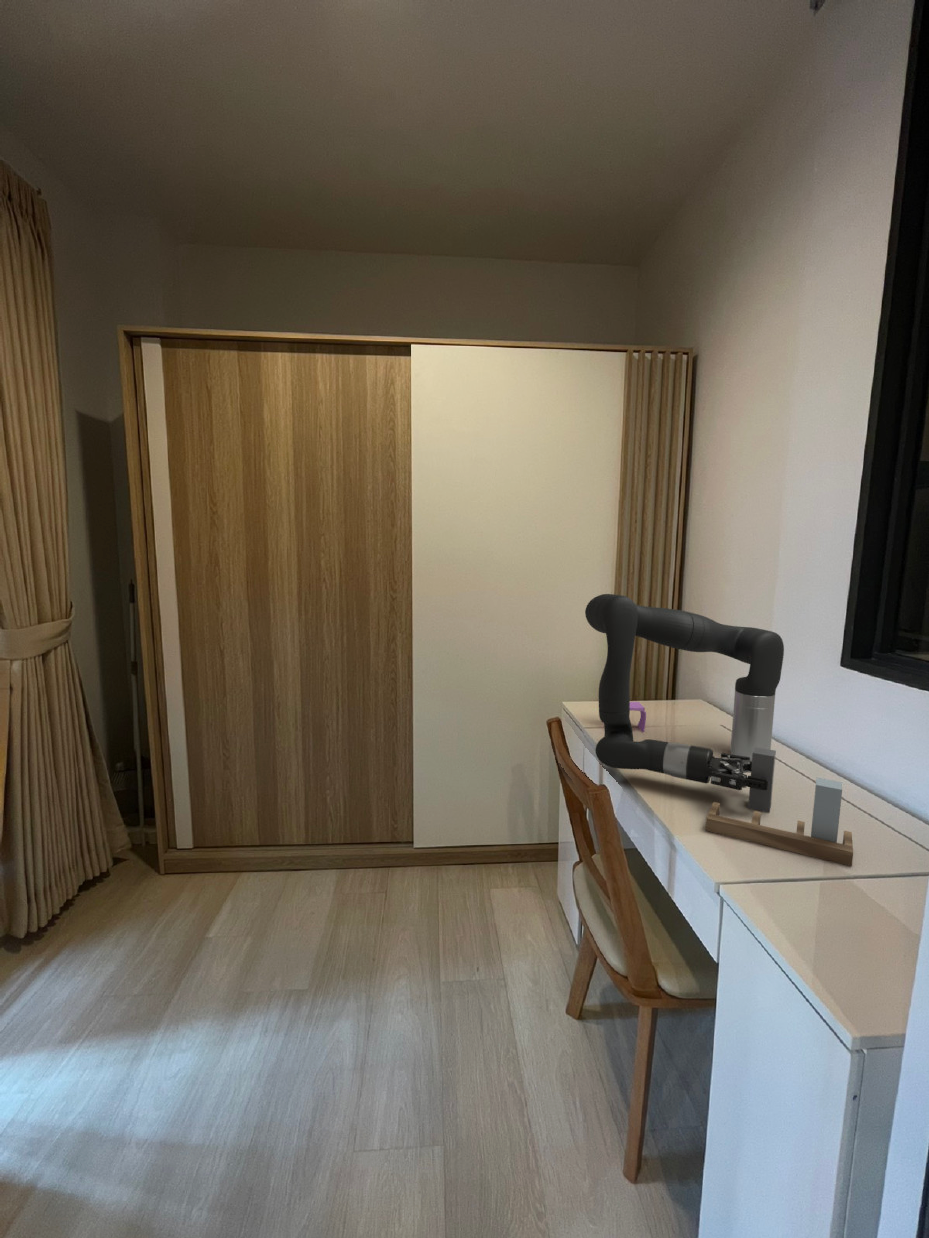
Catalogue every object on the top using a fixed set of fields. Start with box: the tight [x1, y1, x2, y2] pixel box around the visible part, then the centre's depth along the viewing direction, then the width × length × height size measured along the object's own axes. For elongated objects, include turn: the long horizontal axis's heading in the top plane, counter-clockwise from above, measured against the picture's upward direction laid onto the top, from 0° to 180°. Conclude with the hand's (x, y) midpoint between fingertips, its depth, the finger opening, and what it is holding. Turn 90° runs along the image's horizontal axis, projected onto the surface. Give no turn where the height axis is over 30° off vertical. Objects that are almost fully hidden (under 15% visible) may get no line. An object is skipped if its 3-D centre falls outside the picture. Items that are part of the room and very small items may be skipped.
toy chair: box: [630, 701, 647, 733], centre depth 175 cm, size 8×9×15 cm
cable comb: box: [705, 801, 854, 867], centre depth 113 cm, size 8×24×2 cm, turn 59°
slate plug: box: [810, 777, 843, 843], centre depth 110 cm, size 4×4×12 cm
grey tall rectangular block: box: [747, 747, 777, 813], centre depth 126 cm, size 4×4×12 cm
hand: (769, 777), depth 125 cm, fingers open, 8 cm apart
